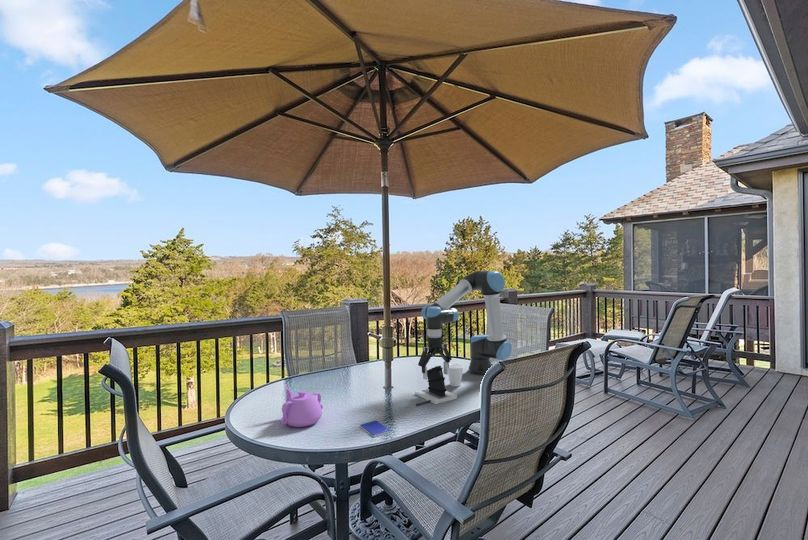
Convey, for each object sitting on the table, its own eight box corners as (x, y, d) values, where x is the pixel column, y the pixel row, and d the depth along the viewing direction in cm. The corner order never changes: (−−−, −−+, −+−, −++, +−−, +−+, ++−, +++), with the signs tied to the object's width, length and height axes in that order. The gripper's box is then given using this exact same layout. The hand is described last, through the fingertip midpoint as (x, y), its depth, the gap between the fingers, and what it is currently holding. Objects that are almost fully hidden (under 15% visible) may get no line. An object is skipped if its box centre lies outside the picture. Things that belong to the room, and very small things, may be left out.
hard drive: (391, 429, 166) (376, 420, 176) (373, 434, 161) (360, 424, 171) (391, 433, 166) (376, 423, 176) (374, 438, 161) (360, 428, 171)
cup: (463, 382, 229) (463, 363, 229) (464, 388, 219) (464, 368, 219) (446, 382, 230) (446, 363, 230) (446, 387, 220) (446, 368, 220)
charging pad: (435, 389, 219) (435, 386, 219) (457, 398, 203) (456, 395, 203) (400, 397, 206) (400, 394, 206) (420, 408, 191) (420, 405, 191)
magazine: (444, 396, 198) (436, 366, 203) (430, 400, 208) (423, 371, 213) (450, 394, 200) (441, 365, 205) (436, 398, 210) (428, 370, 215)
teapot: (305, 407, 195) (304, 380, 194) (334, 418, 181) (333, 388, 181) (264, 422, 178) (263, 392, 177) (293, 435, 164) (292, 402, 164)
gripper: (448, 332, 216) (449, 370, 217) (410, 338, 203) (411, 379, 204) (457, 334, 210) (458, 373, 211) (419, 341, 196) (420, 383, 197)
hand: (435, 376), depth 207 cm, fingers open, 13 cm apart
